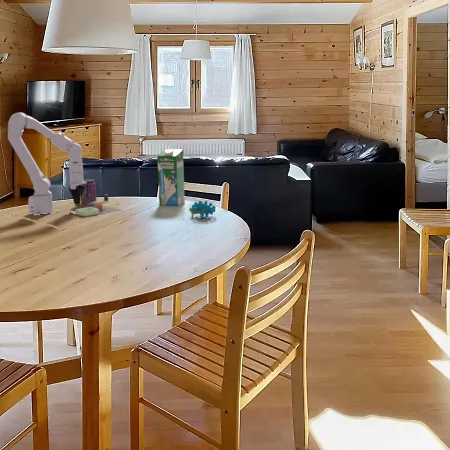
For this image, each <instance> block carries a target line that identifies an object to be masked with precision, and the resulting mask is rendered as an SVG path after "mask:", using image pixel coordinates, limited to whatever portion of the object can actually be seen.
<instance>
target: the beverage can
mask: <svg viewBox="0 0 450 450" xmlns="http://www.w3.org/2000/svg"><path fill="white" fill-rule="evenodd" d="M83 180H84V182H86V184H82V185H85V189H84V191H83V196H82V202H81V204H82V205H81V206H83V205H85V206H84V207H86V206H87V203H88V202H93V201H97V190H96V185H97V184H96V181H95V179H94V178H85V179H84V178H83Z"/></svg>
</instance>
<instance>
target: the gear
mask: <svg viewBox="0 0 450 450" xmlns="http://www.w3.org/2000/svg"><path fill="white" fill-rule="evenodd" d="M213 204H214V203H211V202H209V204H208V201H207V200H204V202H203V201H202V200H198V202H197V201H194V202H193V204H191V207H189V210H188V211H189V212H190V214H191V219H194V215H199V216H200V220H204V219H205V216H206V217H208V216H209V215H211V216H212V215H214V213H216V206H215V205H213Z"/></svg>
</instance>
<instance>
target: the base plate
mask: <svg viewBox="0 0 450 450" xmlns="http://www.w3.org/2000/svg"><path fill="white" fill-rule="evenodd" d="M96 201H97V200H96ZM96 201H93V202H96ZM87 207H92V208H96V209H99V214H98V215H104V214H110V213H115V212H121V211H123V209H119V208H114V207H110V206H106V205H103V204H97V205H93V206H88V205H87V206H85V208H87ZM98 215H97V216H98ZM93 216H94V217H95V215H92V216H91V217H93ZM87 217H88V218H89V217H90V216H86V217H85V218H87Z"/></svg>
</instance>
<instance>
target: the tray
mask: <svg viewBox="0 0 450 450" xmlns="http://www.w3.org/2000/svg"><path fill="white" fill-rule="evenodd" d="M74 210H75V213H76V216H79V217H84V218H87V217H86V216H89V217H93V216H92V215H94V216H98V214H99V209H96V208H92V207H87V208H86V207H82V208H75V209H74Z"/></svg>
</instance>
